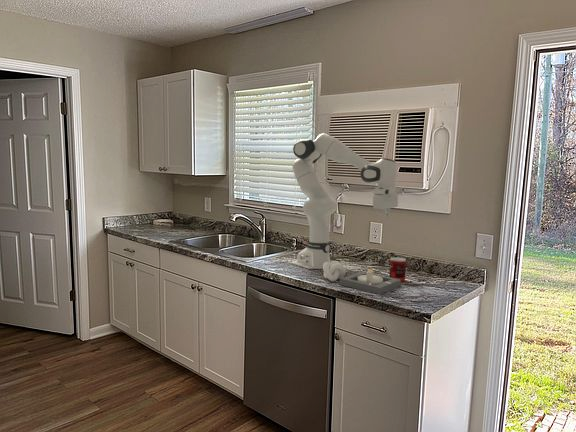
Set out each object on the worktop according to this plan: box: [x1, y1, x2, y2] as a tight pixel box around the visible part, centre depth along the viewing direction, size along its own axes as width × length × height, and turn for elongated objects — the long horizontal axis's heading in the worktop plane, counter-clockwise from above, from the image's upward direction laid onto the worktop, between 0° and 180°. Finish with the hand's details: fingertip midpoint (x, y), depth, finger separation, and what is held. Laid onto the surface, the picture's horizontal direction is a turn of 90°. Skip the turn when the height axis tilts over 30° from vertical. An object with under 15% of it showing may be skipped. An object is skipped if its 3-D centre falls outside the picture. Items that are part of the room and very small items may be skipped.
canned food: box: [388, 256, 407, 283], centre depth 226 cm, size 8×8×11 cm
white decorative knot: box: [322, 260, 347, 282], centre depth 224 cm, size 11×12×9 cm
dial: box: [358, 268, 383, 285], centre depth 215 cm, size 12×12×6 cm
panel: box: [338, 271, 402, 295], centre depth 216 cm, size 22×20×3 cm
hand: (385, 216), depth 231 cm, fingers closed
